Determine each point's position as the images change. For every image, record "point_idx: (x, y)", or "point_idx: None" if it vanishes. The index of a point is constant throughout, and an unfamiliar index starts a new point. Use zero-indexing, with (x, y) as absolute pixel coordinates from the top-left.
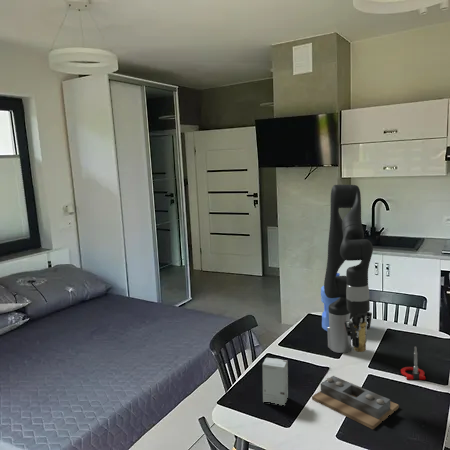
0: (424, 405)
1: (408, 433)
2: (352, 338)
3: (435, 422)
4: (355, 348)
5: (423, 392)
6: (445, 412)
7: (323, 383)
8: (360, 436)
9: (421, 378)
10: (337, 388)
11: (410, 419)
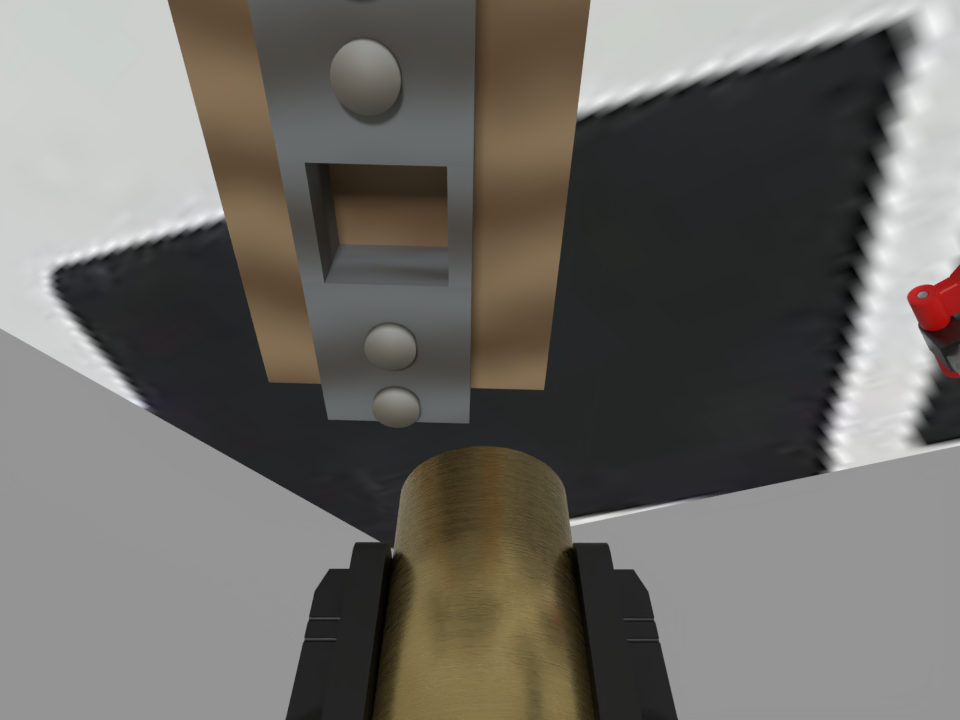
0: (645, 439)
1: (383, 464)
2: (288, 711)
3: None
4: (398, 520)
5: (777, 400)
6: (639, 502)
7: None
8: (178, 353)
9: (937, 360)
10: (305, 100)
11: (486, 439)
